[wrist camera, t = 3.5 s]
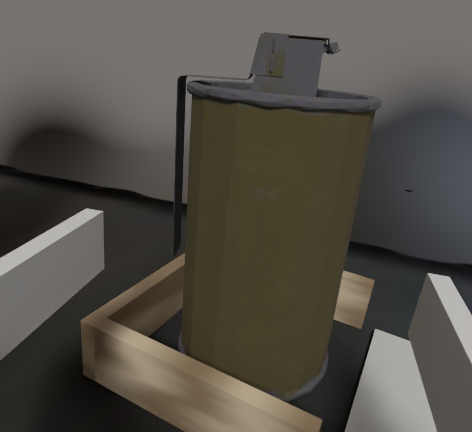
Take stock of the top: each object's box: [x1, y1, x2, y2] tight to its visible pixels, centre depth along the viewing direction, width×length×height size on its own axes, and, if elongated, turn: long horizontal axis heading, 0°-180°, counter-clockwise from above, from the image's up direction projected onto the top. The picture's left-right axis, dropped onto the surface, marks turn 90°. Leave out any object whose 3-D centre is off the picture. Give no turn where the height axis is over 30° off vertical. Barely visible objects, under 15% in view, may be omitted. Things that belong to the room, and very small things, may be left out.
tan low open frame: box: [81, 253, 375, 432], centre depth 27 cm, size 14×16×4 cm
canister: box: [173, 32, 381, 402], centre depth 24 cm, size 11×10×20 cm
